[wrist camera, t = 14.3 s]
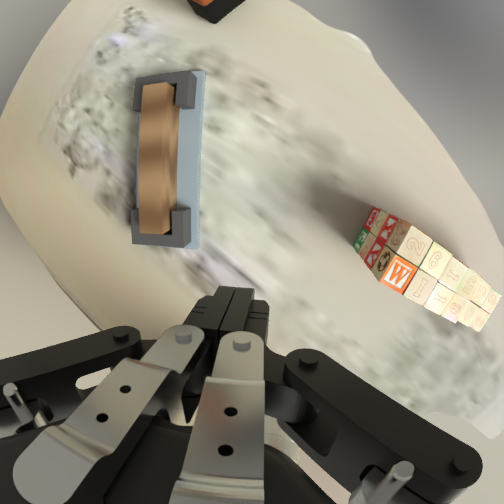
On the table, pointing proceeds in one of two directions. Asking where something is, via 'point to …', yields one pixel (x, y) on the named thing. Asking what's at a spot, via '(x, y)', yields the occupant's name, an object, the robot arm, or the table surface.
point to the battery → (213, 8)
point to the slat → (158, 158)
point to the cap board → (178, 160)
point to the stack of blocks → (424, 270)
